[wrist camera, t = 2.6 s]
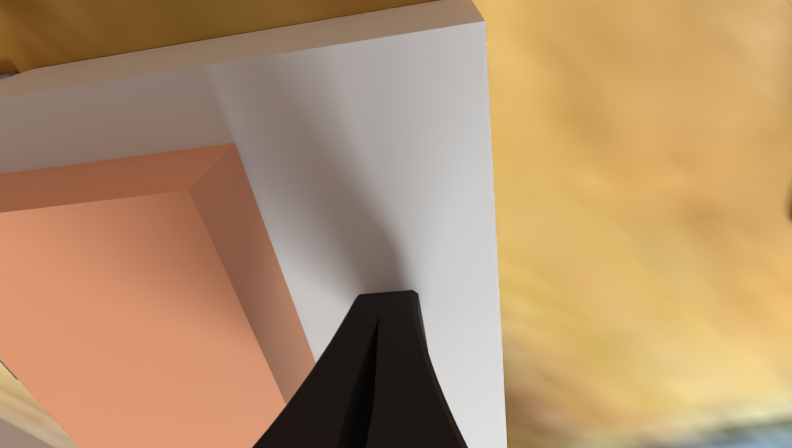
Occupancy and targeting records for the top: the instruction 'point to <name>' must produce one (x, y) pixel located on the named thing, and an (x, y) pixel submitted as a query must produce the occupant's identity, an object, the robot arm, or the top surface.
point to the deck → (321, 164)
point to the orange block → (148, 301)
